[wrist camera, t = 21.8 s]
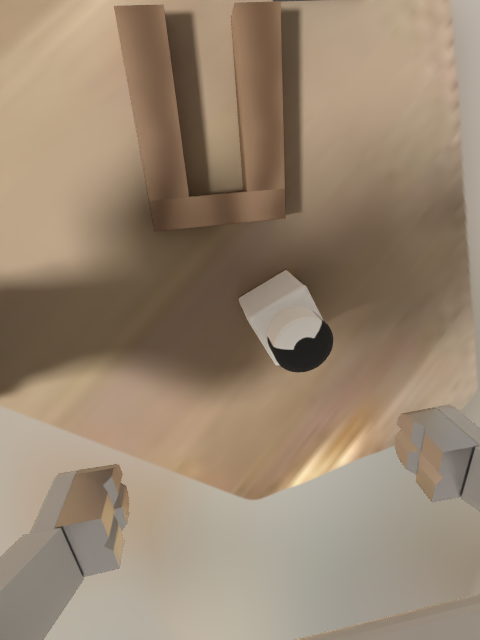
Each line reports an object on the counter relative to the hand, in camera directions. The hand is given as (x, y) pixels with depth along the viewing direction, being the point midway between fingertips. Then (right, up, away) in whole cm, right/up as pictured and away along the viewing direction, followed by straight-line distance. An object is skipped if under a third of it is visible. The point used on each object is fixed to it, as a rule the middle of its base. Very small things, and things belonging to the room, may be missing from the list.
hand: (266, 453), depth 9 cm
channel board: (-4, +23, +24) cm, 33 cm away
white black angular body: (+4, +6, +33) cm, 33 cm away
